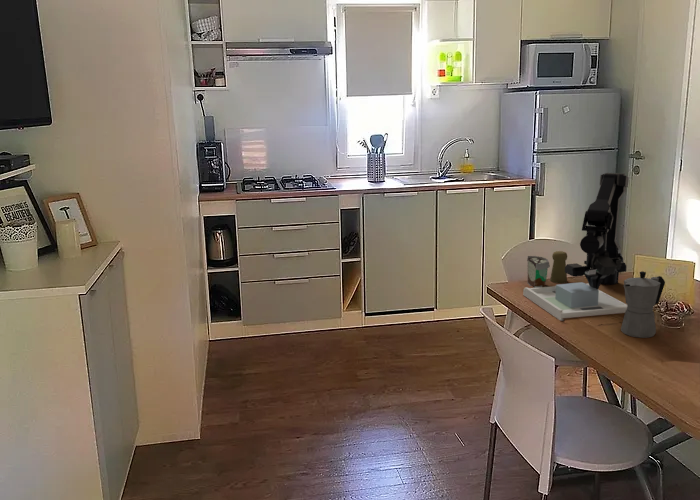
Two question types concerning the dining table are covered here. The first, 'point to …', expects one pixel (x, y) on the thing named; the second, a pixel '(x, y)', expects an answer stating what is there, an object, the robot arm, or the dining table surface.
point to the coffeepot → (641, 305)
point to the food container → (537, 271)
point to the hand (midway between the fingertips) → (594, 293)
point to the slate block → (577, 295)
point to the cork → (559, 267)
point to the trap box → (559, 310)
